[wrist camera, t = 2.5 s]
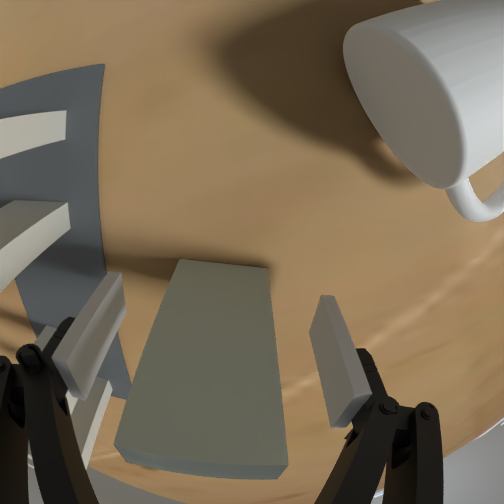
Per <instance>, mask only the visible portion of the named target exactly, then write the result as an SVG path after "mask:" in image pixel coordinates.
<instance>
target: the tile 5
mask: <svg viewBox="0 0 504 504" xmlns="http://www.w3.org/2000/svg"><path fill="white" fill-rule="evenodd" d="M112 390H113V389H112V387H111V384H110V382H109V380H108V379H105V378H101V377H97V376H96V378H95V380H94V383H93V385H92V387H91V390H90V392H89V394H88V397H87V399H86V401H84V400H81V399H78V400H77V402H76V404H75V407H74V409H73V412H72V414H71V419H72V424H73V428H74V432H75V436H76V439H77V443H78V446H79V450H80V453H81V456H82V460H83V463H84V466H85V469H86V470H87V466H88V463H89V459H90V456H91V453H92V449H93V446H94V443H95V440H96V436H97V433H98V430H99V427H100V424H101V421H102V418H103V415H104V412H105V410H106V407H107V404H108V401H109V398H110V396H111V393H112ZM28 465H29V466H30V467H32V468H34V465H33V460H31V459H30V458H28Z"/></svg>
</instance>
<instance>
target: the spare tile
mask: <svg viewBox="0 0 504 504" xmlns="http://www.w3.org/2000/svg"><path fill="white" fill-rule="evenodd" d="M114 445H115V447H116V448H117V450H118V451H119V453H120V454H121V455H122V457H123V458H124V459H125V461H126V462H129V463H132V464H137V465H141V466H145V467H150V468H154V469H159V470H164V471H170V472H176V473H182V474H189V475H197V476H205V477H216V478H229V479H277V478H278V477H279V476H280V475H281V474H282V472H283V471H284V470H285V469H286V468H287V466H288V465H289V464H288V453H287V443H286V433H285V423H284V413H283V403H282V393H281V384H280V374H279V365H278V356H277V347H276V338H275V329H274V320H273V311H272V302H271V294H270V285H269V277H268V269H267V268H261V267H251V266H242V265H233V264H223V263H214V262H205V261H197V260H188V259H179V261H178V264H177V266H176V268H175V271H174V273H173V275H172V278H171V280H170V283H169V285H168V288H167V290H166V293H165V295H164V298H163V300H162V303H161V305H160V308H159V310H158V313H157V315H156V318H155V321H154V323H153V326H152V329H151V331H150V334H149V337H148V339H147V342H146V345H145V348H144V350H143V353H142V356H141V359H140V362H139V365H138V367H137V370H136V373H135V376H134V379H133V382H132V385H131V388H130V391H129V394H128V398H127V401H126V404H125V407H124V410H123V414H122V417H121V420H120V424H119V427H118V430H117V434H116V437H115V441H114Z"/></svg>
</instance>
